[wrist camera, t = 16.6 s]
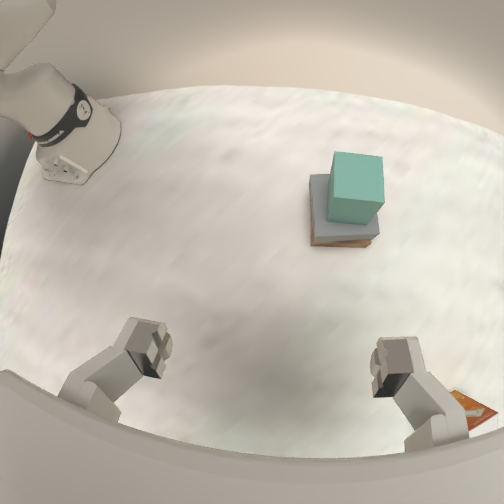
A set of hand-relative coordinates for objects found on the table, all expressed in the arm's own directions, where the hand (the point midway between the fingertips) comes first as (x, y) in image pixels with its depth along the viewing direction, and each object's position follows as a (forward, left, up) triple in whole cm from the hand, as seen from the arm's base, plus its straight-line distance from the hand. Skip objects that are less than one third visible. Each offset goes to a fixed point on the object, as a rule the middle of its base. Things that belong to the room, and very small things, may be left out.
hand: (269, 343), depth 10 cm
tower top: (+7, +14, -26) cm, 30 cm away
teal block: (+7, +14, -23) cm, 27 cm away
